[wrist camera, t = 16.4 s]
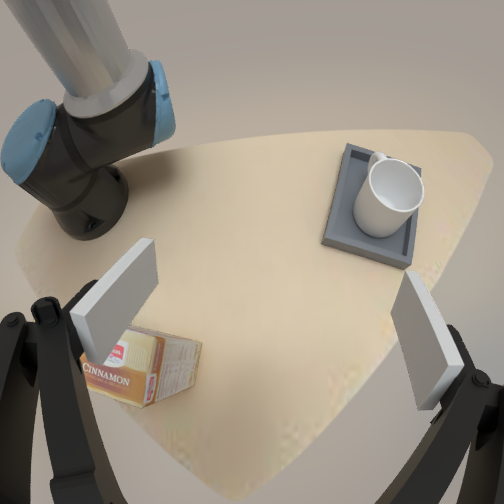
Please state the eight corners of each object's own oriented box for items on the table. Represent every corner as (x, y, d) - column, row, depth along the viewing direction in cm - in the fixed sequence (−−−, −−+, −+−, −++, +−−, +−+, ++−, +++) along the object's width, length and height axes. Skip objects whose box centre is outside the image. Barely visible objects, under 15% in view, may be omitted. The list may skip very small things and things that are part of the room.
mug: (342, 174, 50) (356, 136, 40) (386, 173, 49) (406, 137, 39) (356, 241, 46) (377, 213, 36) (403, 237, 46) (431, 210, 36)
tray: (321, 244, 47) (324, 237, 44) (343, 153, 52) (346, 143, 49) (403, 269, 45) (411, 264, 42) (414, 177, 50) (421, 168, 47)
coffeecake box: (107, 362, 43) (24, 361, 25) (115, 320, 45) (35, 297, 27) (195, 388, 42) (142, 411, 23) (203, 341, 44) (155, 334, 25)
